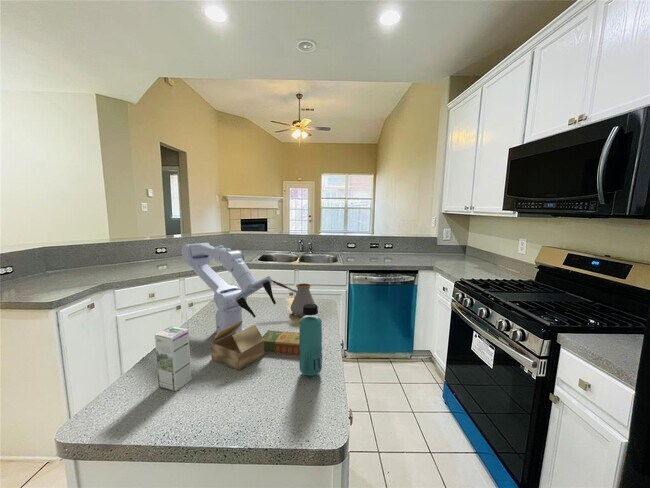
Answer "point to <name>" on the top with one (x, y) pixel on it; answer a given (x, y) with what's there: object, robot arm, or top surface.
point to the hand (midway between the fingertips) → (264, 309)
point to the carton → (281, 342)
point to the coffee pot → (299, 298)
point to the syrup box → (173, 358)
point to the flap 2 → (247, 338)
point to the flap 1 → (226, 331)
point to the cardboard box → (235, 353)
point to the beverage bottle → (310, 341)
